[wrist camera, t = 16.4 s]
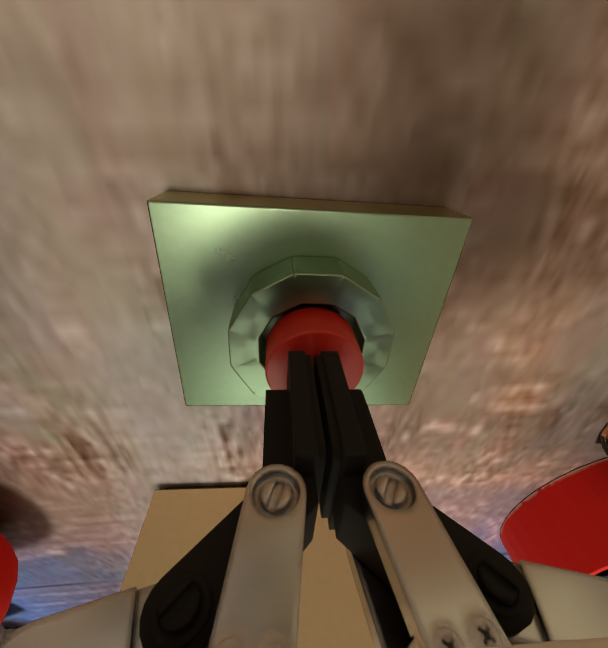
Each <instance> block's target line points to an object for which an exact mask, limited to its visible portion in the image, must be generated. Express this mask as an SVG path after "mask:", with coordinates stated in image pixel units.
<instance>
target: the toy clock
mask: <svg viewBox="0 0 608 648" xmlns="http://www.w3.org/2000/svg"><path fill="white" fill-rule="evenodd" d="M500 537H501V540H502V543H503V545H504V547H505V549H506V550H507V552H508V554H509V556H510V558H511V559H512V561H513V562H515V563H518V561H519V560H524V561H528V562H533V563H538V564H543V565H548V566H552V567H557V568H562V569H567V570H571V571H576V572H581V573H586V574H590V575H595V576H600V577H603V578H606V579H608V458H606V459H602V460H599V461H596V462H594V463H591V464H589V465H586V466H584V467H581V468H579V469H576V470H574V471H572V472H570V473H568V474H566V475H564V476H561V477H559V478H557V479H555V480H554V481H552V482H550V483H549V484H547V485H545V486H543V487H542V488H540V489H538V490H537V491H536V492H534V493H533V494H531V495H530V496H529V497H527V498H526V499H525V500H523V501H522V502H521V503H520V504H519V505H518V506H517V507H516V508H515V509H514V510H513V511H512V512H511V513H510V514H509V516H508V517H507V518H506V520H505V521H504V523H503V526H502V528H501V534H500Z"/></svg>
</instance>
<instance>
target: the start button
mask: <svg viewBox="0 0 608 648" xmlns="http://www.w3.org/2000/svg"><path fill="white" fill-rule="evenodd" d="M289 351H305V355H311V359H312V365H313V369H314V359H315V355H320V354H321V351H338V353H339V357H340V360H341V364H342V367H343V370H344V374H345V377H346V381H347V384H348V387H349V389H355V388H356V387H357V385H358V384H359V382H360V380H361V378H362V375H363V371H364V360H363V356H362V353H361V350H360V348H359V345H358V342H357V340H356V337H355V335H354V332H353V329H352V327H351V326H350V324H349V323H348V321H347V320H346V319H345V318H344V317H342V316H341V315H340V314H338V313H336V312H334V311H332V310H329V309H326V308H321V307H306V308H301V309H297V310H294V311H292V312H290V313H288V314H286V315H285V316H283V317H282V318H281V319H279V320H278V321H277V322H276V323H275V325H274V326H273V327H272V329H271V331H270V333H269V335H268V338H267V346H266V363H265V376H266V380H267V383H268V385H269V386H270V388H271V390H287V370H288V352H289Z"/></svg>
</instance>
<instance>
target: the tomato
mask: <svg viewBox="0 0 608 648" xmlns="http://www.w3.org/2000/svg"><path fill="white" fill-rule="evenodd" d="M17 578H18V559H17V557H16V555H15V552H14V550H13V547H12V545H11V544H10V543H9V541H8V540H7V539H6V538H5V537H4V536H3V535H2V534H1V533H0V625H1V623H2V621H3V619H4V617H5V615H6V613H7V611H8V609H9V606H10V603H11V599H12V596H13V593H14V590H15V586H16V583H17Z"/></svg>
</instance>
